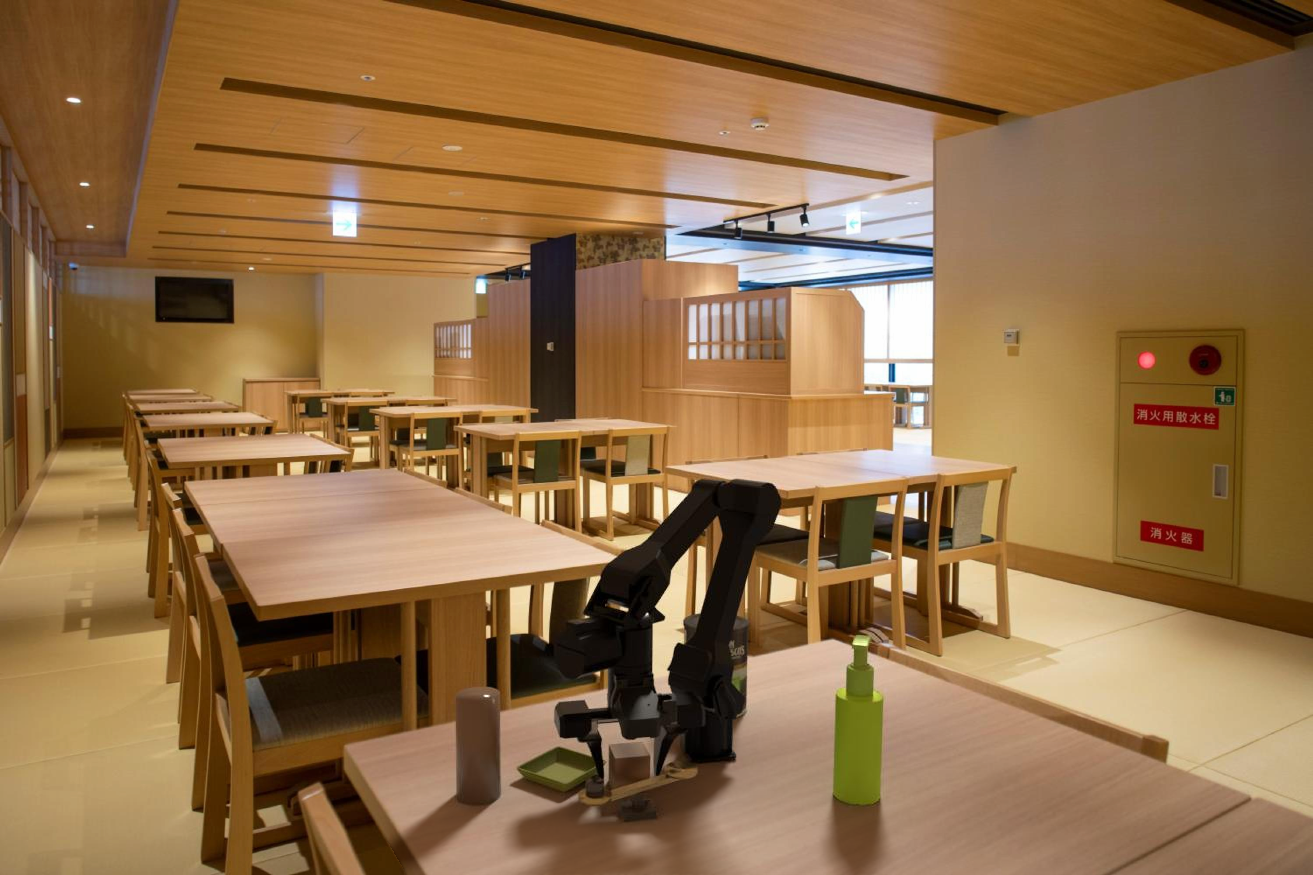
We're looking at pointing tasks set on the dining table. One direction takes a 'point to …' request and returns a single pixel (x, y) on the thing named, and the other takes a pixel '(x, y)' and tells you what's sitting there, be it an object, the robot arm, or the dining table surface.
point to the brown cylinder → (478, 745)
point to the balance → (635, 792)
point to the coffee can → (737, 650)
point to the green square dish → (559, 768)
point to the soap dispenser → (858, 732)
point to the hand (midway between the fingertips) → (629, 778)
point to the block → (628, 764)
